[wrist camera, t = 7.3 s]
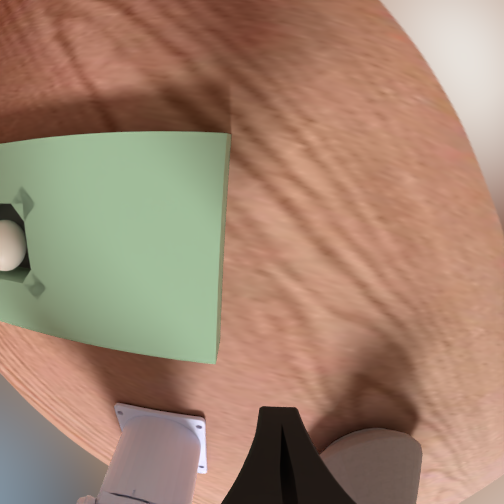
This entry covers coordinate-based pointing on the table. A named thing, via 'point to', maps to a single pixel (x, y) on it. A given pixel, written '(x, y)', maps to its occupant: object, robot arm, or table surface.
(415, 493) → the coffee pot
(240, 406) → the table surface
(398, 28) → the table surface
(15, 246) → the ball
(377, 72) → the table surface
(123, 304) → the plate
